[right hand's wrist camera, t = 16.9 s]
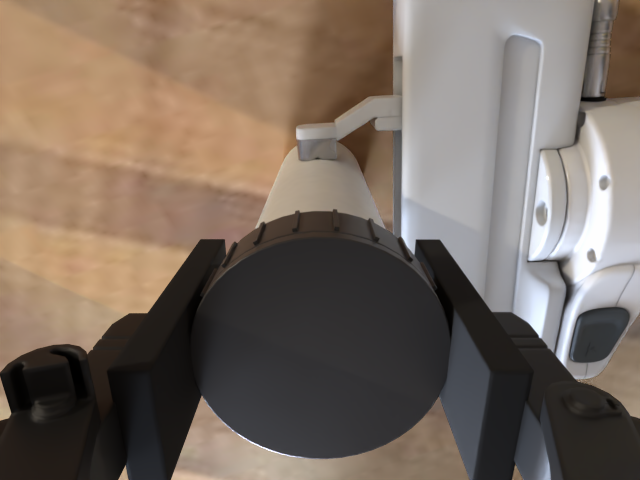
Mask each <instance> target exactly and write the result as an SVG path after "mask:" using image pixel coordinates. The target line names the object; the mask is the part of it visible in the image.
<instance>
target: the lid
mask: <svg viewBox="0 0 640 480" xmlns="http://www.w3.org/2000/svg"><path fill="white" fill-rule="evenodd" d="M435 289H437V287H436V285H435V283H434V282H433V280H432V278H431V276H430V274H429V272H428V270H427V269H426V267H425V265H424V263H423V262H421V263H419V261H418V260H417V258H416V257H415V256H414V254H413V253H412V252H411V250H410V249H409V248H408V247H407V246H406V244H405V242H404V240H403V238H402V237H401V236H400V237H399V238H397V237H396V236H395V235H393V234H392V233H391V232H389V231H388V230H386V229H384V228H383V227H381V226H379V225H377V224H376V223H374V221H373V219H371V218H369V220H366V219H364V218H361V217H357V216H354V215H350V214H346V213H339V212H337V209H333V212H332V211H310V212H301V213H300V210H297V211H295V214H291V215H287V216H283V217H280V218H278V219H275V220H273V221H270V222H268V223H266V224H265V222H264V221H263V222H262V223H260V225H259V227H258V228H257V229H255V230H253V231H252V232H251V233H249V234H248V235H246V236H245V237H244V238H242V239H241V240H240V241H239V242H238V243H236V242H234V243H233V244H232V246H231V247H230V249H229V251H228V253H227V255H226V257H225V258H224V260H223V261H222V263H221V265H220V267H219V268H218V269H214V271H213V272H212V274H211V276H210V278H209V280H208V282H207V283H206V285H205V287H204V289H203V291H202V293H201V295H200V296H202V297H203V299H202V301H201V302H200V304H199V306H198V309H197V311H196V314H195V317H194V319H193V323H192V328H191V333H190V350H191V358H192V367H193V374H194V379H195V381H196V384H197V386H198V388H199V391H200V393H201V394H202V396H203V398H204V399H205V401H206V403H207V404H208V406H209V407H210V408H211V409H212V411H213V412H214V413H215V414H216V416H217V417H218V418H219V419H220V420H221V421H222V422H224V423H225V424H226V425H227V426H228V427H229V428H230V429H232V430H233V431H234V432H236V433H237V434H238V435H240V436H241V437H243V438H245V439H247V440H248V441H250V442H252V443H254V444H256V445H258V446H260V447H263V448H265V449H267V450H270V451H273V452H277V453H280V454H284V455H288V456H293V457H299V458H308V459H332V458H343V457H348V456H353V455H358V454H361V453H365V452H368V451H371V450H374V449H376V448H379V447H381V446H383V445H386V444H388V443H389V442H391V441H393V440H395V439H397V438H398V437H400V436H401V435H403V434H404V433H406V432H407V431H408V430H410V429H411V428H412V427H413V426H414V425H415V424H417V423H418V422H419V421H420V420H421V419H422V418H423V417H424V416H425V414H426V413H427V412H428V411H429V410H430V409H431V407H432V406H433V404H434V403H435V401H436V400H437V398H438V397H439V395H440V393H441V391H442V389H443V386H444V384H445V382H446V378H447V371H448V363H449V355H450V346H451V333H450V327H449V323H448V320H447V317H446V314H445V311H444V308H443V307H442V305H441V303H440V301H439V299H438V297H437V295H436V293H435V291H434V290H435Z"/></svg>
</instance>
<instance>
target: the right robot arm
mask: <svg viewBox="0 0 640 480" xmlns="http://www.w3.org/2000/svg"><path fill="white" fill-rule="evenodd" d="M414 256H415V257H416V258H417V260H418V261H419V263H421V262H423V263H424V265H425V267H426V269H427V270H428V272H429V274H430V276H431V278H432V280H433V282H434V283H435V285H436V287H437V289H435V290H434V291H435V293H436V295H437V297H438V299H439V301H440V303H441V305H442V307H443V308H444V311H445V314H446V317H447V320H448V323H449V327H450V333H451V346H450V355H449V363H448V371H447V378H446V382H445V384H444V386H443V389H442V391H441V393H440V395H439V397H440V400H441V403H442V405H443V408H444V411H445V414H446V416H447V419H448V422H449V425H450V427H451V430H452V433H453V435H454V438H455V441H456V444H457V446H458V449H459V452H460V455H461V457H462V460H463V463H464V465H465V468H466V471H467V474H468V476H469V479H470V480H512V477H513V472H514V467H515V464H516V466H517V468H518V470H519V472H520V474H521V476H522V478H523V480H640V419H639V418H636V417H632V416H630V415H629V413H628V411H627V410H626V409H625V407H624V406H623V405H622V403H621V402H619V401H618V400H617V399H615V398H614V397H613V396H611V395H610V394H609V393H607V392H605V391H603V390H601V389H599V388H596V387H594V386H592V385H588V384H584V383H581V382H577V381H576V379H575V378H574V377H573V376H572V375H571V373H570V372H569V371H568V370H567V369H566V367H565V366H564V365H563V364H562V363H561V361H560V360H559V359H558V358H557V357H556V355H555V354H554V353H553V352H552V350H551V349H548V346H547V344H546V343H545V342H544V341H543V340H542V338H539V335H538V334H537V332H536V331H535V330H534V329H533V328H532V326H531V325H530V324H529V323H528V322H526V321H525V320H523V319H522V318H520V317H518V316H517V315H515V314H514V313H512V312H492V311H491V310H490V309H489V307H488V306H487V304H486V303H485V302H484V300H483V299H482V297H481V296H480V295H479V293H478V292H477V291H476V289H475V288H474V286H473V285H472V284H471V282H470V281H469V279H468V278H467V277H466V275H465V274H464V272H463V271H462V270H461V268H460V267H459V265H458V264H457V263H456V261H455V260H454V258H453V257H452V256H451V254H450V253H449V251H448V250H447V249H446V247H445V246H444V244H443V243H442V242H441V240H440V239H416V242H415V254H414ZM225 257H226V249H225V239H201V240H200V241H199V242H198V244H197V245H196V247H195V248H194V249H193V251H192V252H191V253H190V255H189V256H188V258H187V259H186V260H185V262H184V263H183V265H182V266H181V267H180V269H179V270H178V272H177V273H176V274H175V276H174V277H173V279H172V280H171V281H170V283H169V284H168V286H167V287H166V288H165V290H164V291H163V293H162V294H161V295H160V297H159V298H158V300H157V301H156V302H155V304H154V305H153V307H152V308H151V309H150V311H149V312H148V313H129V314H128V315H126V316H125V317H123V318H121V319H120V320H118V321H117V322H115V323H114V324H112V325H111V326H110V328H109V329H108V330H107V331H106V333H105V334H104V335H103V336H102V339H100V340H99V341H98V342H97V343H96V345H95V346H94V347H93V350H91V351H90V352H89V353H88V354H87V353H86V351H85V350H84V349H82V348H81V347H80V346H75V345H70V344H63V345H52V346H47V347H43V348H39V349H36V350H33V351H31V352H29V353H26V354H24V355H21V356H20V357H18V358H17V359H15V360H14V361H12V362H10V363H9V364H8V365H7V366H6V367H5V368H4V369H3V370H2V371H1V372H0V377H1V381H2V384H3V387H4V390H5V394H6V397H7V400H8V403H9V407H10V410H11V416H10V418H8V419H5V420H1V421H0V480H118V479H119V477H120V475H121V473H122V471H123V469H124V467H125V465H126V469H127V474H128V479H129V480H171V478H172V475H173V472H174V469H175V467H176V464H177V461H178V458H179V456H180V453H181V450H182V448H183V445H184V442H185V439H186V437H187V434H188V431H189V428H190V426H191V423H192V420H193V418H194V415H195V412H196V409H197V407H198V404H199V401H200V398H201V396H202V394H201V393H200V391H199V388H198V386H197V384H196V381H195V379H194V374H193V367H192V358H191V350H190V333H191V328H192V323H193V319H194V317H195V314H196V311H197V309H198V306H199V304H200V302H201V301H202V299H203V297H202V296H200V295H201V293H202V291H203V289H204V287H205V285H206V283H207V282H208V280H209V278H210V276H211V274H212V272H213V271H214V269H218V268H219V267H220V265H221V263H222V261H223V260H224V258H225Z"/></svg>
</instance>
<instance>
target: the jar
mask: <svg viewBox="0 0 640 480" xmlns="http://www.w3.org/2000/svg"><path fill="white" fill-rule="evenodd" d="M336 151H337V159H334V160H321V159H320V158H318V157H317V158H315V159H314V160H311V161H300V160H298V149H297V146H295V147H294V148H293V149H292V150H291V151H290V152H289V153H288V154H287V156H286V157H285V159H284V161H283V163H282V166H281V168H280V170H279V173H278V175H277V177H276V180H275V182H274V185H273V187H272V189H271V192H270V194H269V197H268V199H267V201H266V204H265V206H264V209H263V211H262V213H261V216H260V218H259V221H258V223H257V225H256V228H255V229H257V228H258V227H259V225H260V223H262V222H263V221H264V222H265V224H266V223H268V222H270V221H273V220H275V219H278V218H280V217H283V216H287V215H291V214H295V211H297V210H300V213H301V212H310V211H332V212H333V209H337V212H339V213H346V214H350V215H354V216H357V217H361V218H364V219H366V220H369V218H371V219H373V221H374V223H376V224H377V225H379V226H381V227H383V228H384V229H386V228H385V226H384V224H383V221H382V219H381V217H380V214H379V212H378V209H377V207H376V205H375V202H374V200H373V198H372V195H371V193H370V190H369V188H368V186H367V183H366V181H365V179H364V176H363V174H362V171H361V169H360V167H359V164H358V162H357V160H356V158H355V157H354V155H353V154H352V153H351V151H350V150H349V149H348V148H346V147H345V146H344V145H342V144H341V143H339V142H337V141H336Z"/></svg>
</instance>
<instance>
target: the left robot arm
mask: <svg viewBox="0 0 640 480" xmlns="http://www.w3.org/2000/svg"><path fill="white" fill-rule="evenodd" d="M619 2H620V0H393V95H383V96H369V97H368V98H366V99H365V100H363V101H362V102H360V103H359V104H357V105H356V106H354V107H353V108H351V109H350V110H348V111H347V112H345V113H344V114H342V115H341V116H339V117H338V118H337V119H335V122H334V123H317V124H304V125H298V126H297V127H296V138H297V149H298V160H300V161H311V160H314V159H315V158H317V157H318V158H320V159H321V160H334V159H337V151H336V139H337V141H339V140H340V139H342V138H343V137H345V136H347V135H348V134H350V133H351V132H353V131H354V130H356V129H357V128H359V127H361V126H362V125H364V124H365V123H367V122H368V121H370V124H371V125H372V126H373V127H374V128H375V129H376V130H377V131H392V130H393V235H395V236H396V237H397V238H399V237H400V236H401V237H402V238H403V240H404V242H405V244H406V246H407V247H408V248H409V249H410V250H411V252H412V253H413V254H415V242H416V239H440V240H441V242H442V243H443V244H444V246H445V247H446V249H447V250H448V251H449V253H450V254H451V256H452V257H453V258H454V260H455V261H456V263H457V264H458V265H459V267H460V268H461V270H462V271H463V272H464V274H465V275H466V277H467V278H468V279H469V281H470V282H471V284H472V285H473V286H474V288H475V289H476V291H477V292H478V293H479V295H480V296H481V297H482V299H483V300H484V302H485V303H486V304H487V306H488V307H489V309H490V310H491V311H492V312H512V313H514V314H515V315H517V316H518V317H520V318H522V319H523V320H525V321H526V322H528V323H529V324H530V325H531V326H532V328H533V329H534V330H535V331H536V332H537V334H538V335H539V338H542V340H543V341H544V342H545V343H546V344H547V346H548V349H551V350H552V352H553V353H554V354H555V355H556V357H557V358H558V359H559V360H560V361H561V363H562V364H563V365H564V366H565V367H566V369H567V370H568V371H569V372H570V373H571V375H572V376H573V377H574V378H575V379H588V378H592V377H595V376H597V375H598V374H600V373H601V372H602V371H603V370H604V369H605V367H606V366H607V364H608V362H609V361H610V359H611V357H612V356H613V354H614V352H615V351H616V349H617V347H618V346H619V344H620V342H621V341H622V339H623V337H624V336H625V334H626V333H627V331H628V329H629V328H630V326H631V325H632V324H633V322H634V321H635V319H636V318H637V316H638V315H639V314H640V97H624V98H605V91H606V85H607V78H608V72H609V66H610V56H611V54H610V52H611V47H610V46H611V41H610V39H611V36H612V33H611V32H612V29H613V24H614V21H615V20H616V18H617V14H618V10H619Z"/></svg>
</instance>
